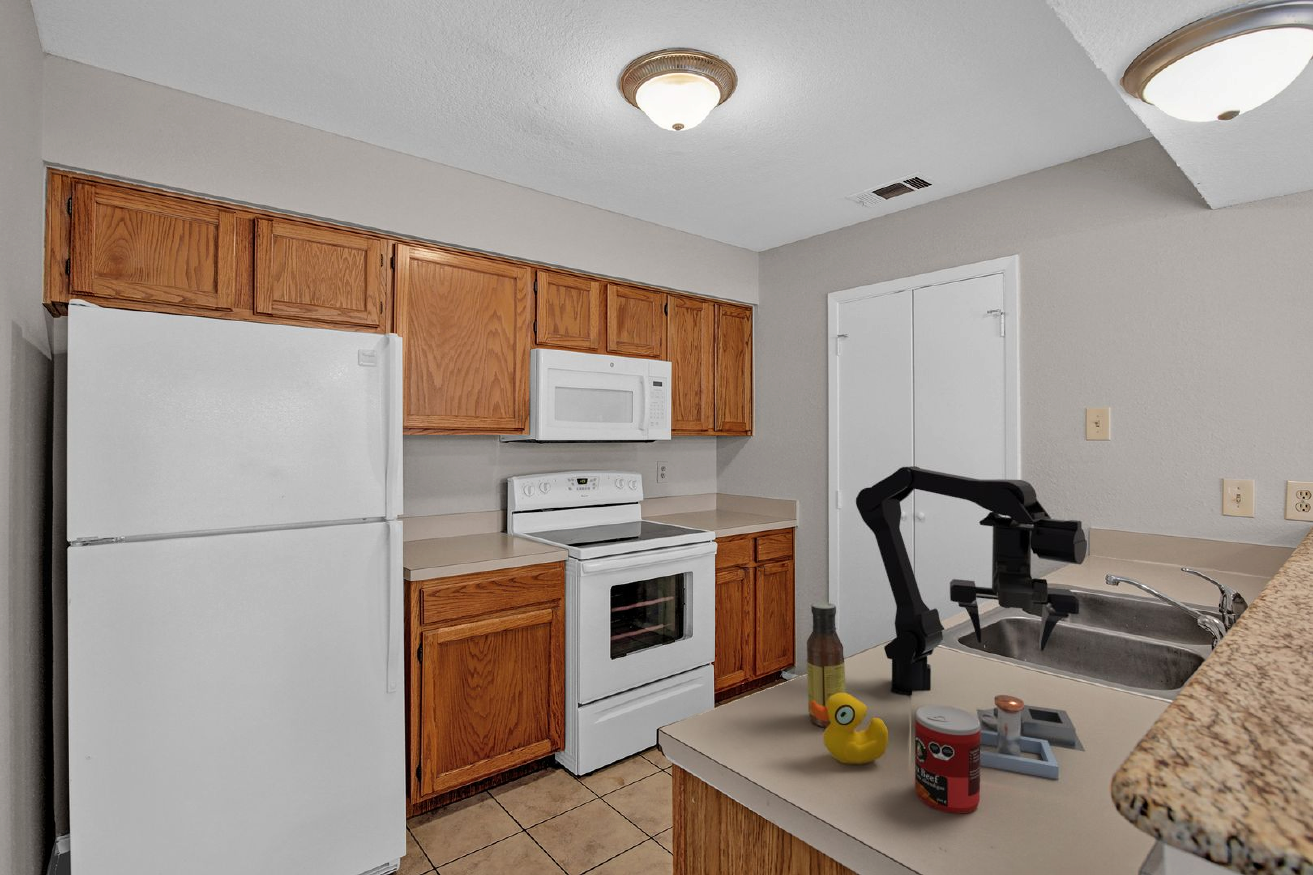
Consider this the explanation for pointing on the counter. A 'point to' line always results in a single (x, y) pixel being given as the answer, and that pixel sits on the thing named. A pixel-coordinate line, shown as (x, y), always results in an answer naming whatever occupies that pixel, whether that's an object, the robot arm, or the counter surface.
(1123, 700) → the counter surface
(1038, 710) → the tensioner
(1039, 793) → the counter surface
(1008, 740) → the lock pin
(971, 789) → the canned food
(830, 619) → the sauce bottle
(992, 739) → the tray
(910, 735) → the counter surface
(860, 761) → the duckling
